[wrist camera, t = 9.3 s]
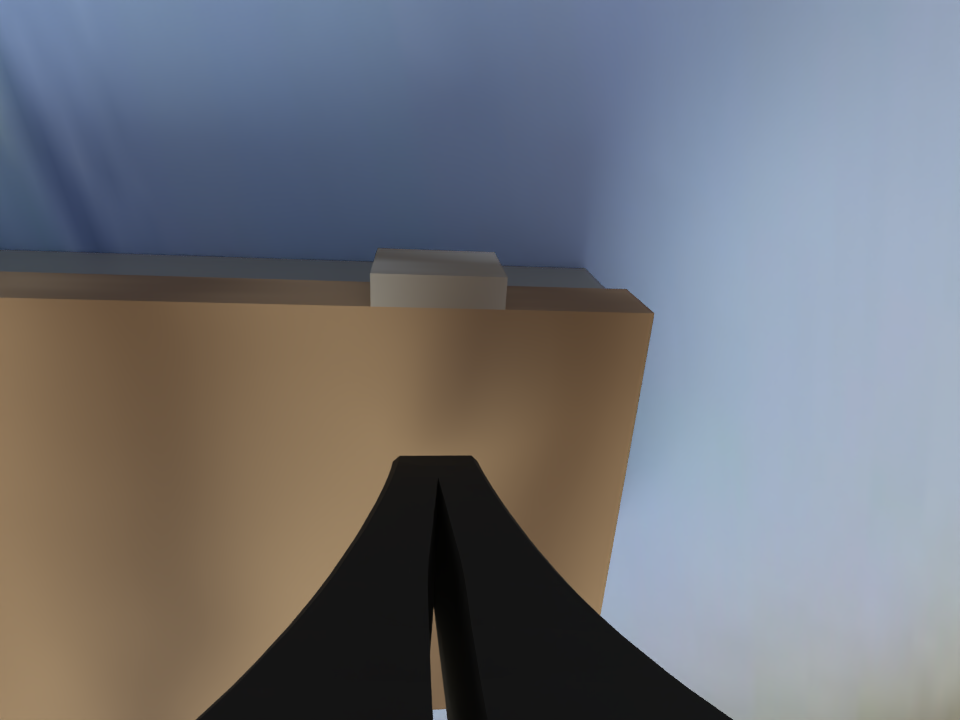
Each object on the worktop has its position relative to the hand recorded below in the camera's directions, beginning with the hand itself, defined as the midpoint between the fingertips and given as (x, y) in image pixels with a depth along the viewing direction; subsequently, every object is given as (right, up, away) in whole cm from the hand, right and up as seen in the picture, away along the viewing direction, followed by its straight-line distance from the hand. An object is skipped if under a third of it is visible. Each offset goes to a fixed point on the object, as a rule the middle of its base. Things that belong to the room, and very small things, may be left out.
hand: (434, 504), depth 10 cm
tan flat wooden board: (-6, 0, +3) cm, 7 cm away
